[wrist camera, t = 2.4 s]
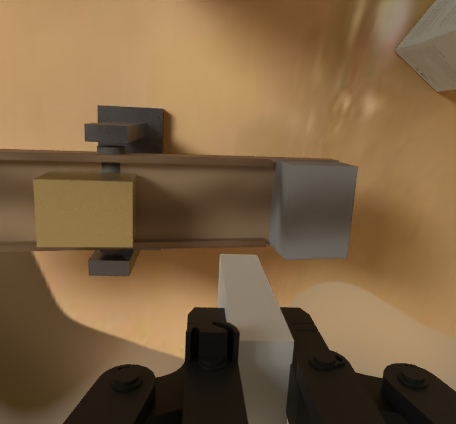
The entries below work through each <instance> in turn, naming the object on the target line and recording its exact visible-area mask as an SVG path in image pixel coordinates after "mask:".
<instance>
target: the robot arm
mask: <svg viewBox="0 0 456 424" xmlns="http://www.w3.org/2000/svg"><path fill="white" fill-rule="evenodd" d="M287 418H288V422H289V424H456V391H454V390H453V389H452V388H450V387H449V386H448V385H447V384H445V383H444V382H443V381H441V380H440V379H439V378H437V377H436V376H435V375H433V374H432V373H430V372H428V371H427V370H425V369H423V368H420V367H417V366H415V365H412V364H406V363H397V364H391V365H389V366H387V367H386V368H385V370H384V372H383V378H378V377H373V376H368V375H364V374H360V373H356V372H355V371H354V369H353V368H352V366H351V365H350V363H349V362H348V361H347V360H346V359H345V357H343V356H342V355H340V354H338V353H336V352H334V351H330V350H329V349H328V347H327V345H326V343H325V342H324V340H323V338H322V336H321V334H320V333H319V332H318V329H317V327H316V326H315V325H314V322H313V320H312V319H311V317H310V315H309V314H307V313H306V312H305V311H303V310H302V309H301V308H288V307H279V305H278V302H277V300H276V298H275V295H274V293H273V291H272V288H271V286H270V284H269V281H268V279H267V277H266V274H265V272H264V270H263V267H262V265H261V263H260V260H259V258H258V256H257V255H250V254H220V262H219V284H218V305H217V308H199V307H194V309H193V310H192V311H191V312H190V313H189V314H188V322H187V331H186V347H185V362H184V364H183V365H182V367H181V368H179V369H178V370H177V371H175V372H173V373H171V374H168V375H165V376H162V377H157V378H155V375H154V373H153V372H152V371H151V370H149V369H148V368H147V367H143V366H140V365H131V364H126V365H121V366H116V367H114V368H112V369H109V370H107V371H106V372H104V373H103V374H102V375H101V376H100V377H99V378H98V379H97V381H96V382H95V383H94V385H93V386H92V387H91V388H90V390H89V391H88V392H87V393H86V395H85V396H84V397H83V399H82V400H81V401H80V403H79V404H78V405H77V407H76V408H75V409H74V410H73V412H72V413H71V414H70V415H69V417H68V418H67V419H66V420H65V422H64V423H63V424H286V423H287Z"/></svg>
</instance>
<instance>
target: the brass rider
mask: <svg viewBox="0 0 456 424" xmlns="http://www.w3.org/2000/svg"><path fill="white" fill-rule="evenodd" d="M33 187H34V205H35V222H36V240H37V247H133V244H134V239H135V235H136V231H137V173H114V172H80V171H49V172H47V173H45V174H43V175H41V176H39V177H37V178H35V179H33Z"/></svg>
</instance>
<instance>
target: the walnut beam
mask: <svg viewBox="0 0 456 424" xmlns="http://www.w3.org/2000/svg"><path fill="white" fill-rule="evenodd" d="M357 170H358V167H357V166H353V165H349V164H345V163H341V162H339V161H337V160H333V159H320V158H286V157H253V156H220V155H186V154H153V153H125V146H115V145H100V146H97V152H86V151H52V150H19V149H0V252H5V251H59V250H100V251H101V252H103V253H120V252H123V251H125V250H126V249H165V248H217V247H265V246H266V244H267V243H268V244H269V245H270V246H271V247H272V248H273V249H274V250H275V251H276V252H277V253H278V254H279V255H280V256H281V257H282V258H283V259H284V260H301V259H339V258H347V253H348V245H349V236H350V228H351V220H352V211H353V203H354V195H355V187H356V178H357ZM49 171H80V172H114V173H137V231H136V235H135V239H134V244H133V247H37V240H36V222H35V205H34V187H33V179H35V178H37V177H39V176H41V175H43V174H45V173H47V172H49Z"/></svg>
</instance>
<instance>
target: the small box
mask: <svg viewBox="0 0 456 424" xmlns="http://www.w3.org/2000/svg"><path fill="white" fill-rule="evenodd" d="M395 51H396V53H397V54H398V55H399V56H400V57H401V58H403V59H404V60H405V61H406V62H407V63H408V64H409V65H410V66H411V67H412V68H413V69H414V70H415V71H416V72H417V73H418V74H419V75H420V76H421V77H422V78H423V79H424V80H425V81H426V82H427V83H428V84H429V85H430V86H431V87H432V88H433V89H434V90H435V91H437V92H440V91H449V90H456V0H435V2H434V3H433V4H432V5H431V6H430V8H429V9H428V10H427V11H426V12H425V14H424V15H423V16H422V17H421V19H420V20H419V21H418V22H417V23H416V25H415V26H414V27H413V28H412V29H411V31H410V32H409V33H408V34H407V35H406V37H405V38H404V39H403V40H402V42H401V43H400V44H399V45H398V47H397V48H396V49H395Z"/></svg>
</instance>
